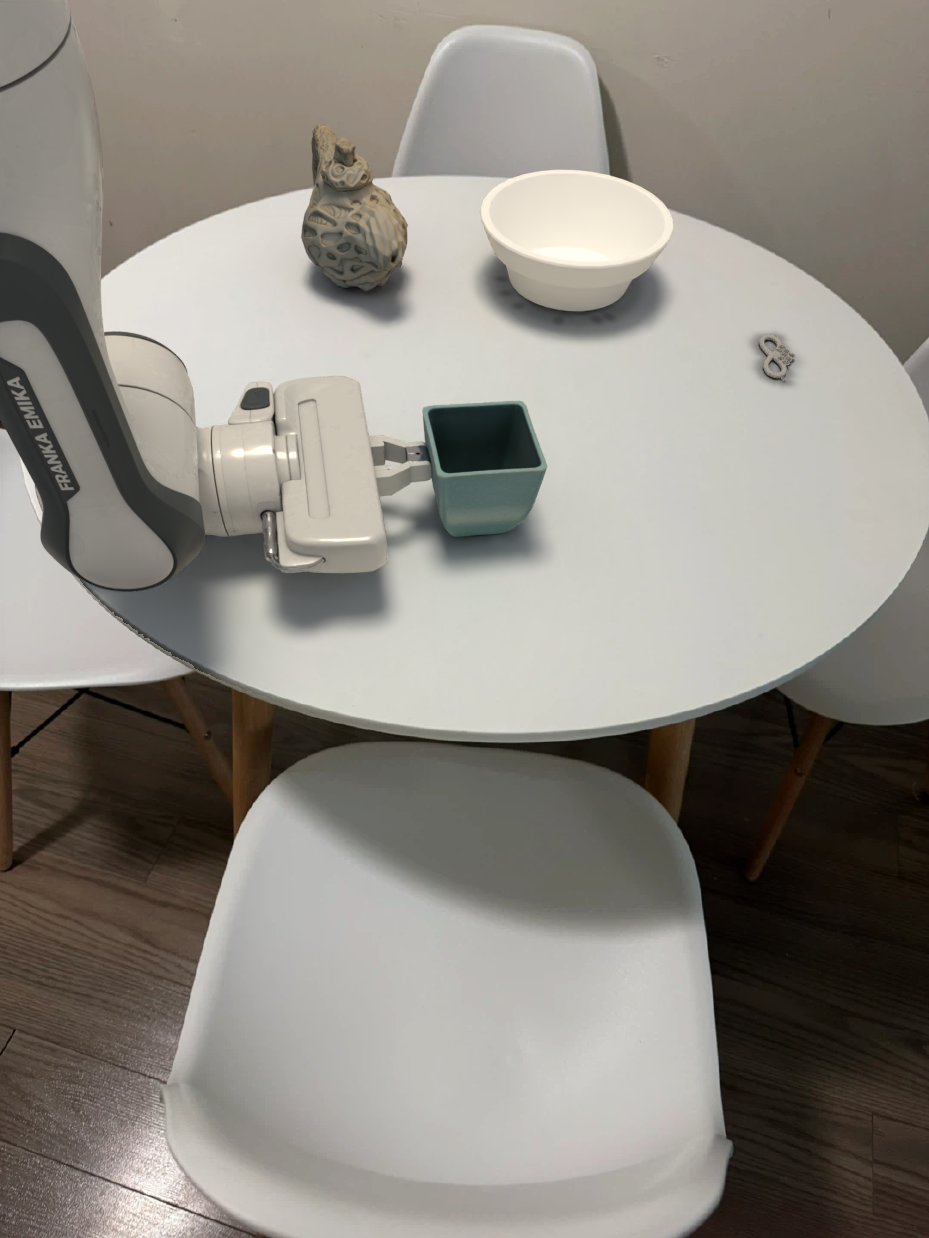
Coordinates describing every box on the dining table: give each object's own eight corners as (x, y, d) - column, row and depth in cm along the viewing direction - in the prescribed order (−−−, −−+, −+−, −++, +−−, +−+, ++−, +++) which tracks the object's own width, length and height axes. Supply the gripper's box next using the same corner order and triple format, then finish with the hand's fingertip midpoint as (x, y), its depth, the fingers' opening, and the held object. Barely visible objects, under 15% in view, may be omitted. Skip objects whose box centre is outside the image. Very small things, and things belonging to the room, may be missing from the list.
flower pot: (514, 478, 81) (524, 398, 74) (535, 547, 75) (549, 468, 68) (419, 485, 79) (421, 405, 72) (434, 556, 74) (438, 477, 67)
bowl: (451, 250, 105) (453, 181, 99) (610, 226, 110) (622, 159, 103) (516, 351, 93) (523, 280, 86) (691, 319, 98) (710, 249, 91)
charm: (758, 330, 96) (791, 333, 95) (757, 334, 96) (789, 337, 96) (766, 374, 91) (800, 378, 90) (764, 379, 91) (799, 382, 91)
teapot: (440, 311, 97) (441, 172, 85) (342, 335, 94) (329, 194, 82) (366, 221, 109) (359, 88, 97) (277, 240, 105) (258, 104, 94)
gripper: (257, 544, 62) (450, 523, 64) (249, 369, 74) (411, 355, 76) (270, 601, 67) (449, 579, 69) (260, 428, 79) (412, 413, 81)
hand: (429, 460), depth 73 cm, fingers closed, pressing on flower pot
